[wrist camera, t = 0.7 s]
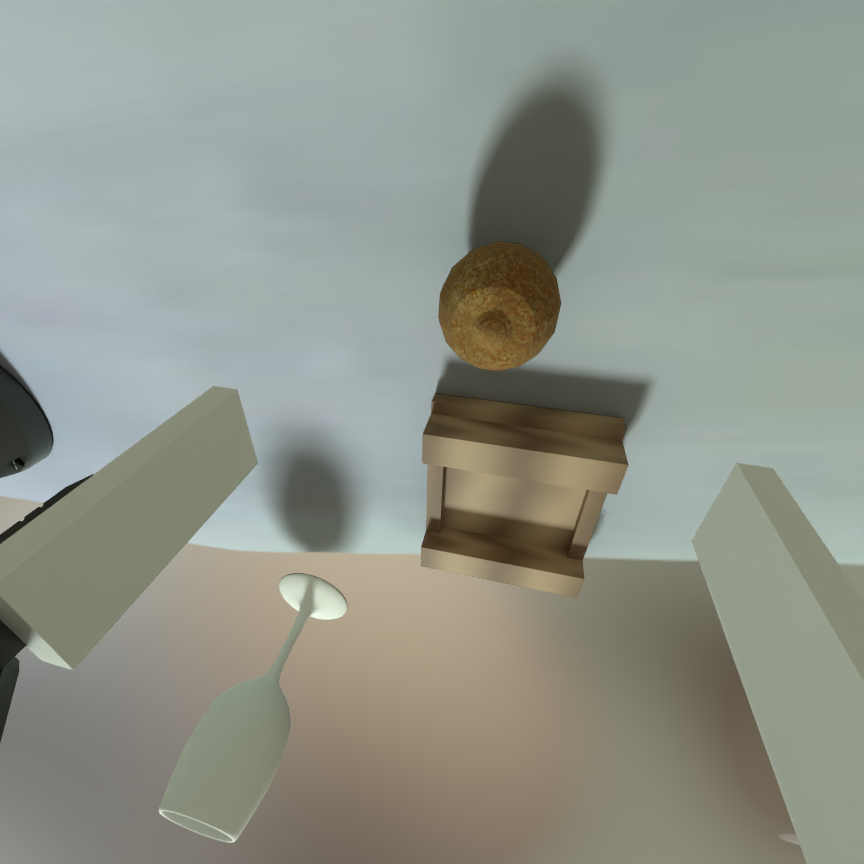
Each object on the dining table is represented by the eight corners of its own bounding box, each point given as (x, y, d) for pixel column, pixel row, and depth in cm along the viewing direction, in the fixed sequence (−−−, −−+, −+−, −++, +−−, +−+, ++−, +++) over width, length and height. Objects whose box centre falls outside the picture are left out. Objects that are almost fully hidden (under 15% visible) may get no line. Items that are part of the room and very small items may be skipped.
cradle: (430, 539, 39) (420, 573, 36) (435, 393, 30) (422, 421, 27) (571, 567, 37) (574, 605, 34) (623, 418, 28) (633, 452, 25)
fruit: (507, 354, 27) (495, 419, 21) (433, 291, 26) (396, 341, 20) (582, 279, 24) (596, 331, 17) (501, 202, 23) (483, 227, 16)
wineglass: (328, 571, 46) (205, 817, 29) (359, 617, 51) (267, 856, 34) (266, 572, 49) (123, 796, 33) (300, 616, 54) (189, 834, 37)
